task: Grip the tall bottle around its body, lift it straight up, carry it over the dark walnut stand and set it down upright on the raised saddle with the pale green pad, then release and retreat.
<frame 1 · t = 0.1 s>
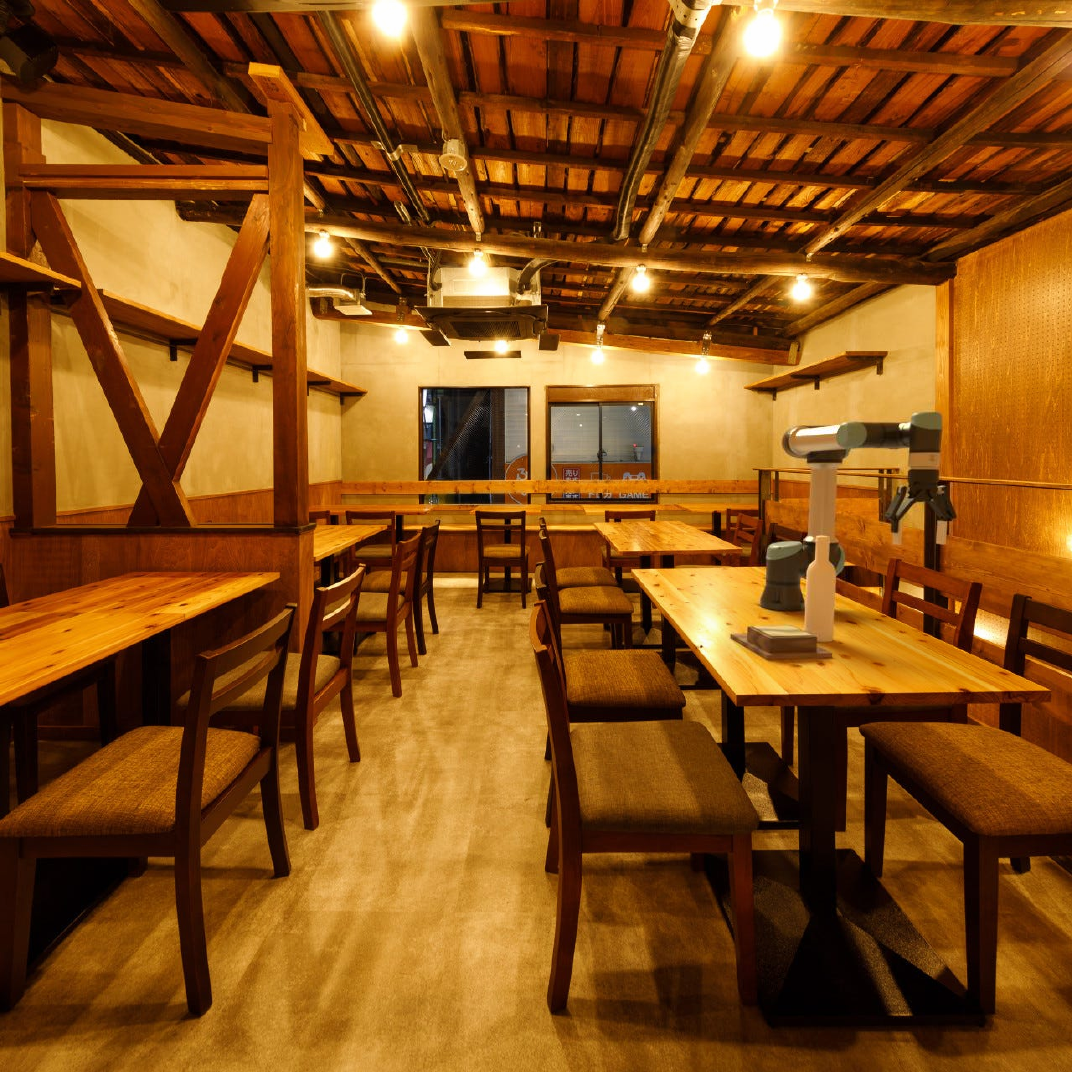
hand: (918, 544, 178), 28 cm above the table, fingers open, 13 cm apart
stand: (778, 647, 175), on the table
bottle: (818, 639, 183), on the table
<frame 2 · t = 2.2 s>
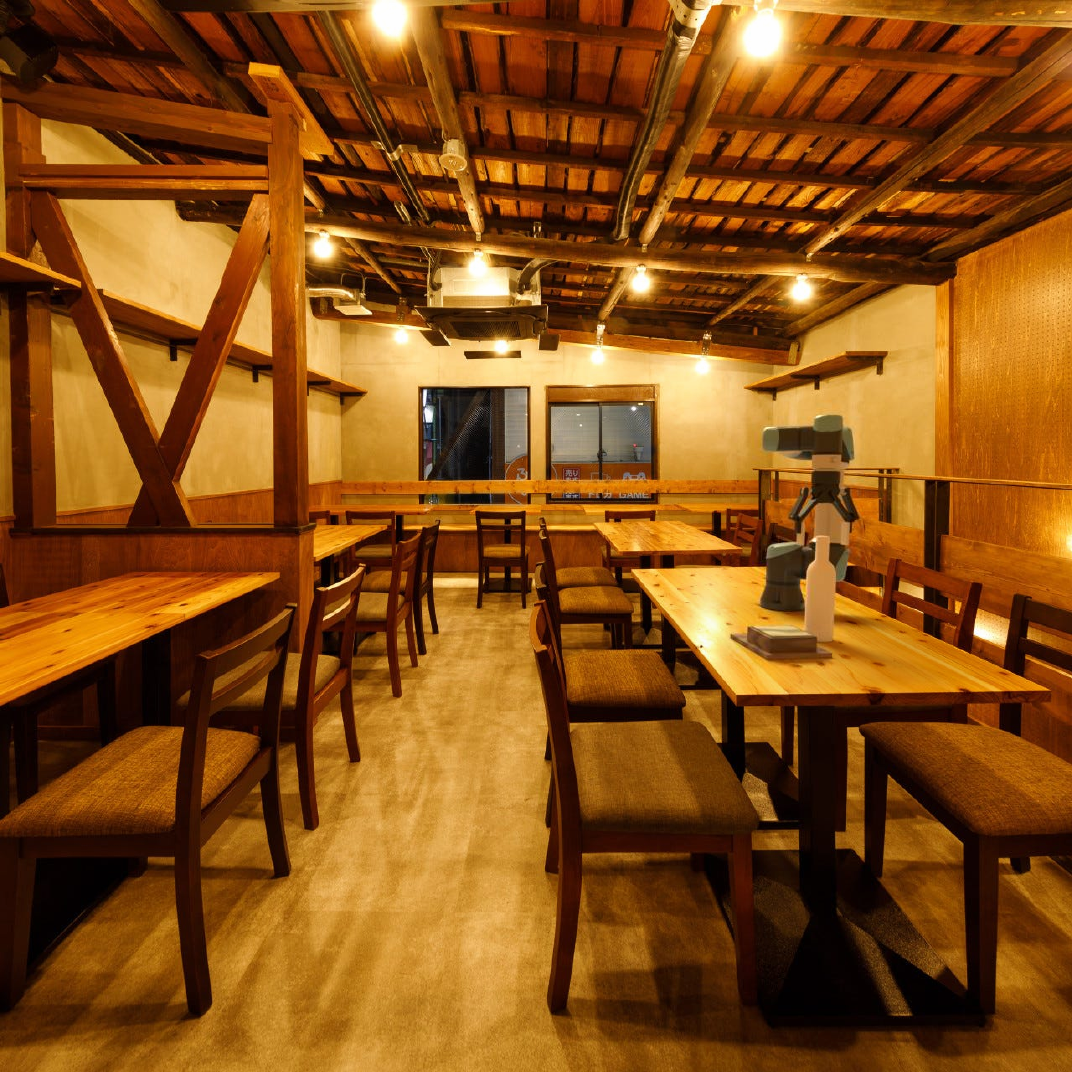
hand: (822, 545, 180), 27 cm above the table, fingers open, 13 cm apart
nothing on the table moved.
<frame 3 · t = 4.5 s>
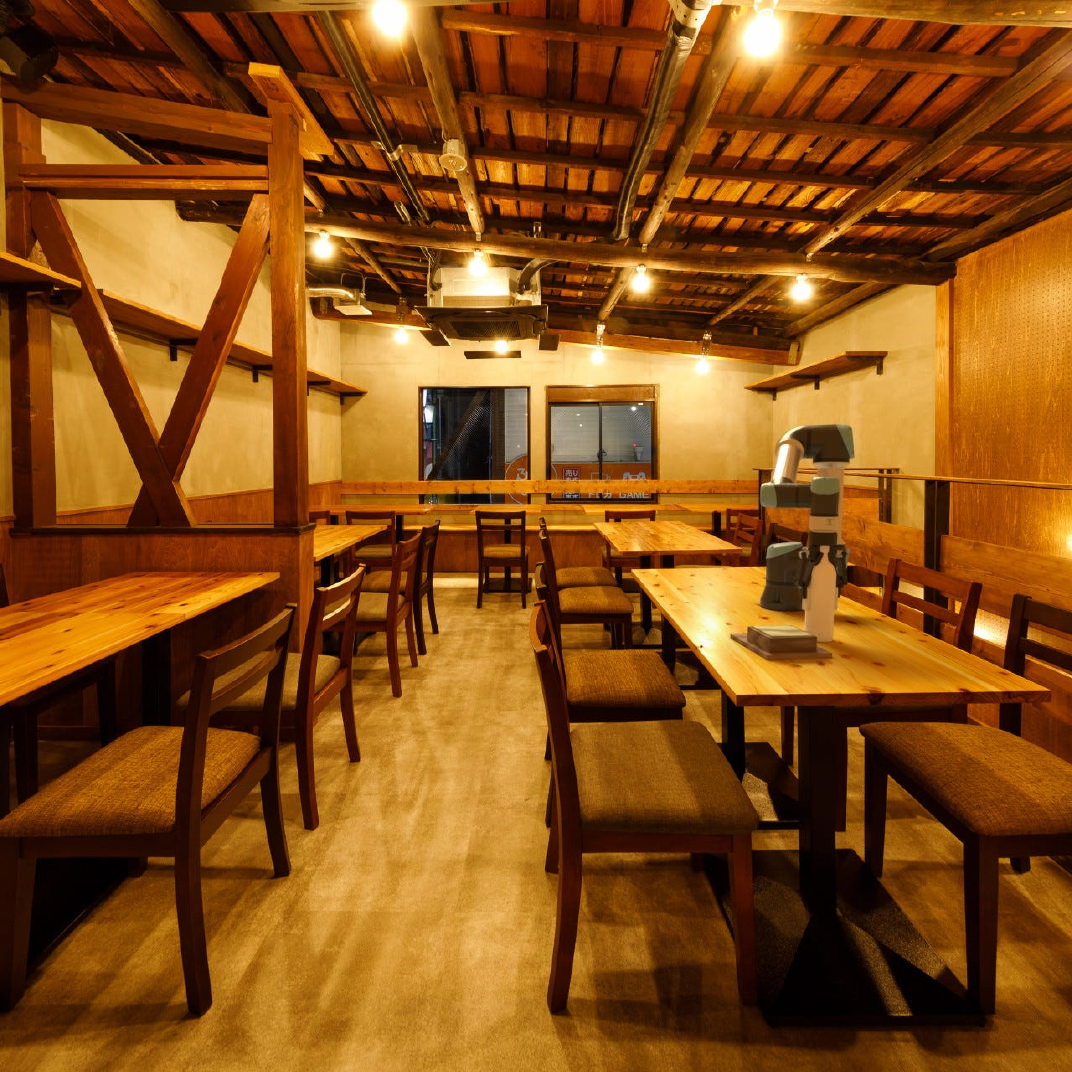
hand: (819, 609, 183), 9 cm above the table, fingers closed on bottle, 8 cm apart
bottle: (818, 639, 183), on the table, touching gripper
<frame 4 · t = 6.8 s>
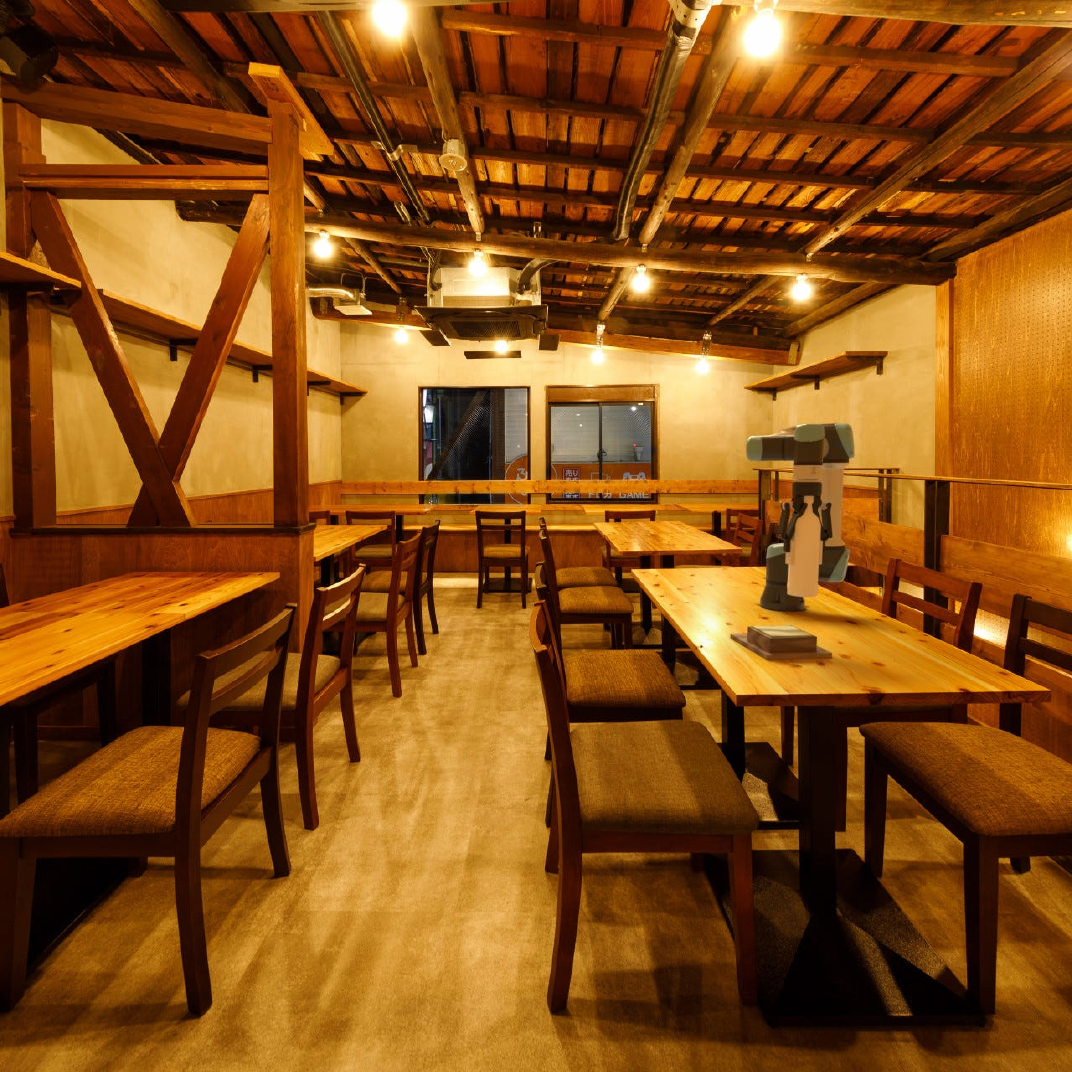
hand: (803, 563, 175), 23 cm above the table, fingers closed on bottle, 8 cm apart
bottle: (802, 595, 175), point 14 cm above the table, touching gripper
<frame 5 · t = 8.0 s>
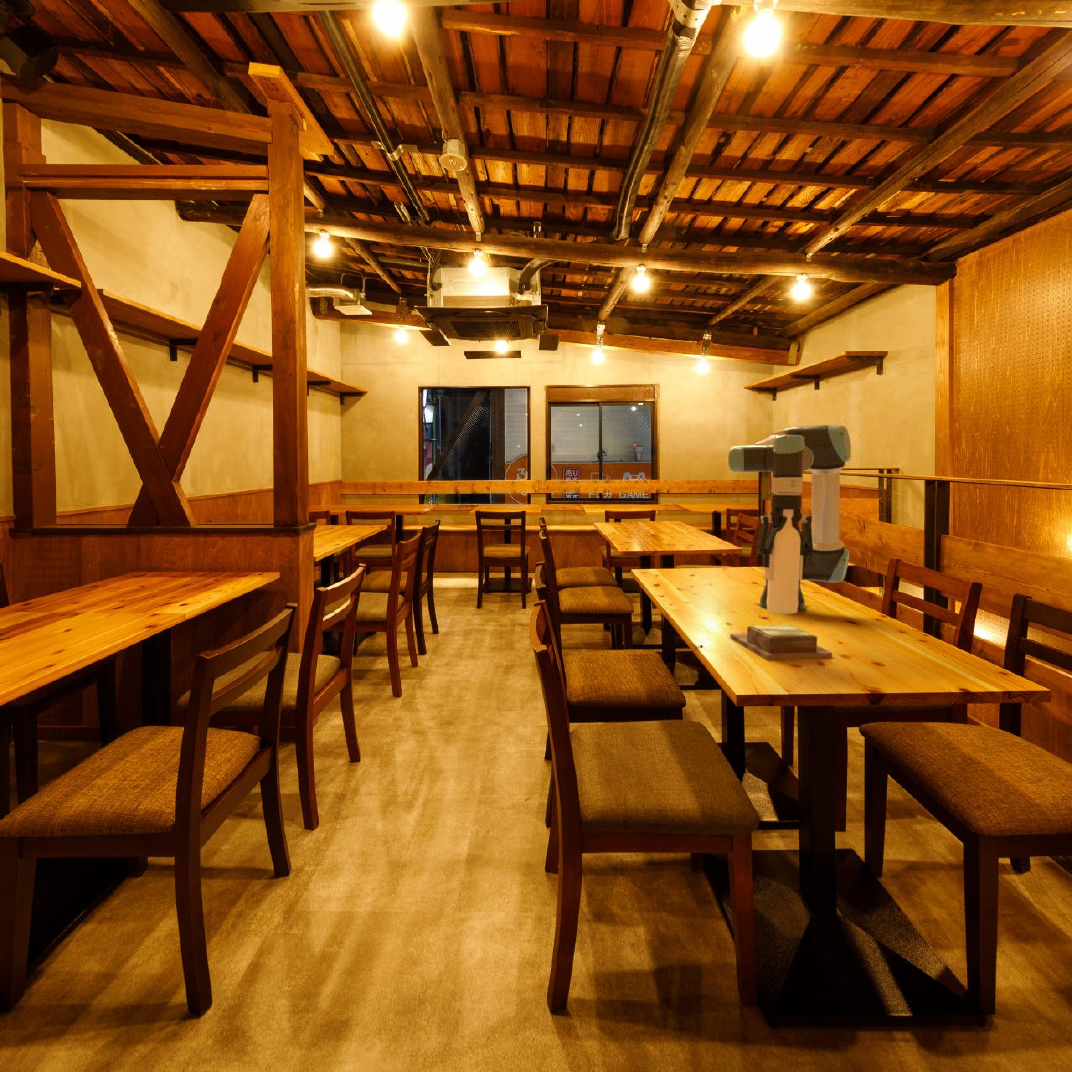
hand: (783, 579, 169), 20 cm above the table, fingers closed on bottle, 8 cm apart
bottle: (781, 611, 170), point 11 cm above the table, touching gripper
when the fingers open (15 cm above the table, at t = 9.1 s): bottle stays where it is, resting on stand.
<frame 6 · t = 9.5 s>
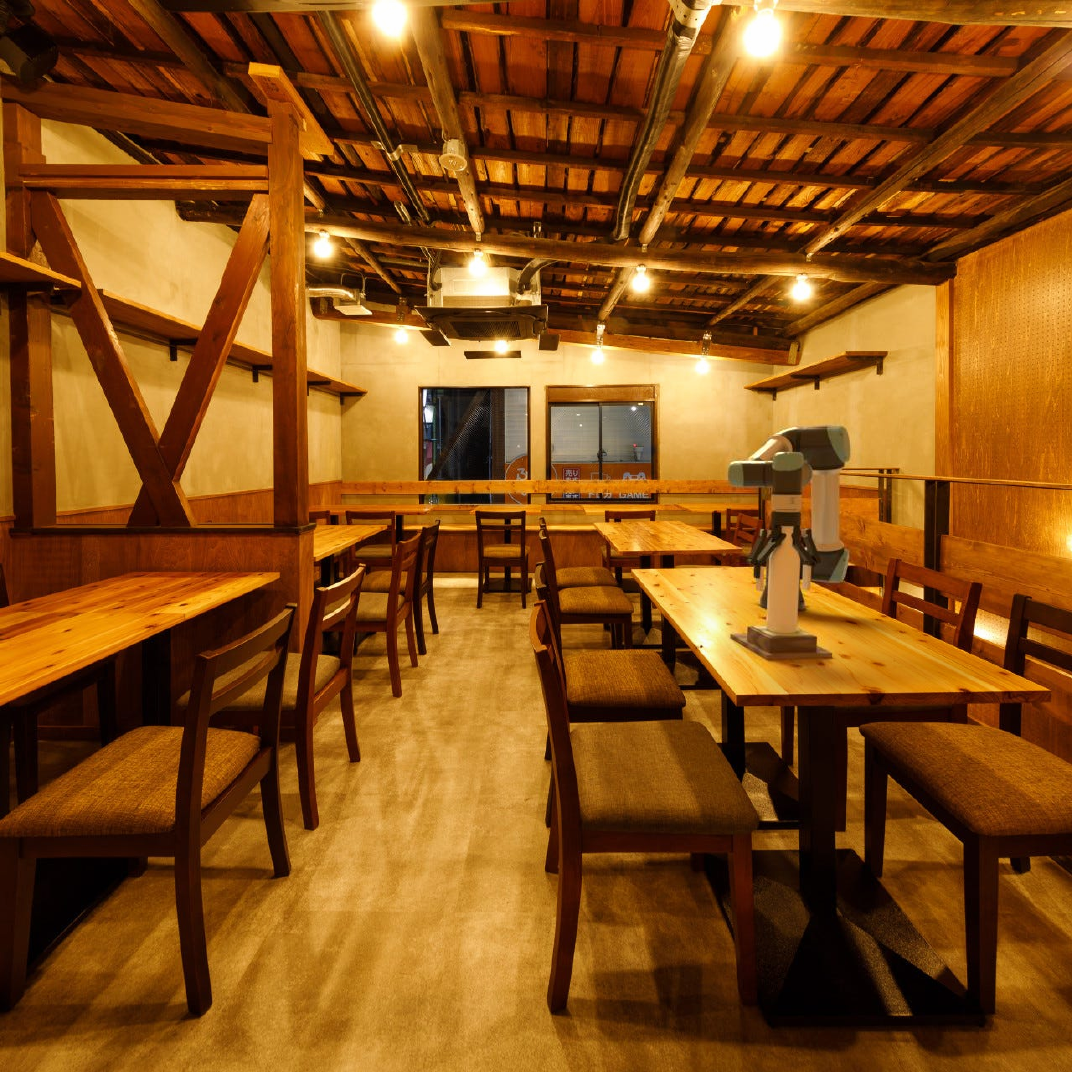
hand: (782, 590, 170), 17 cm above the table, fingers open, 13 cm apart
bottle: (781, 630, 171), point 5 cm above the table, touching stand
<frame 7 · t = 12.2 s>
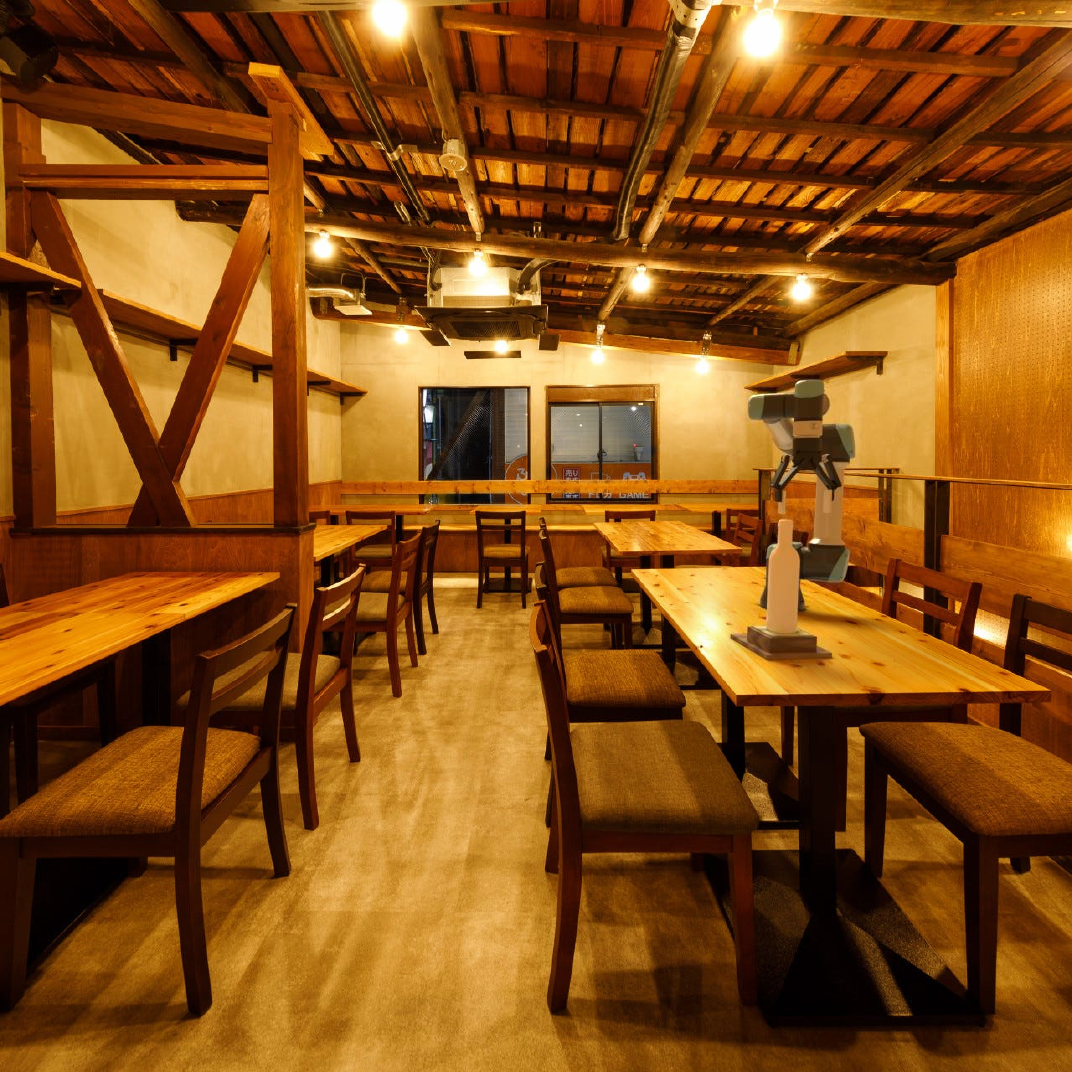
hand: (804, 513, 178), 37 cm above the table, fingers open, 13 cm apart
nothing on the table moved.
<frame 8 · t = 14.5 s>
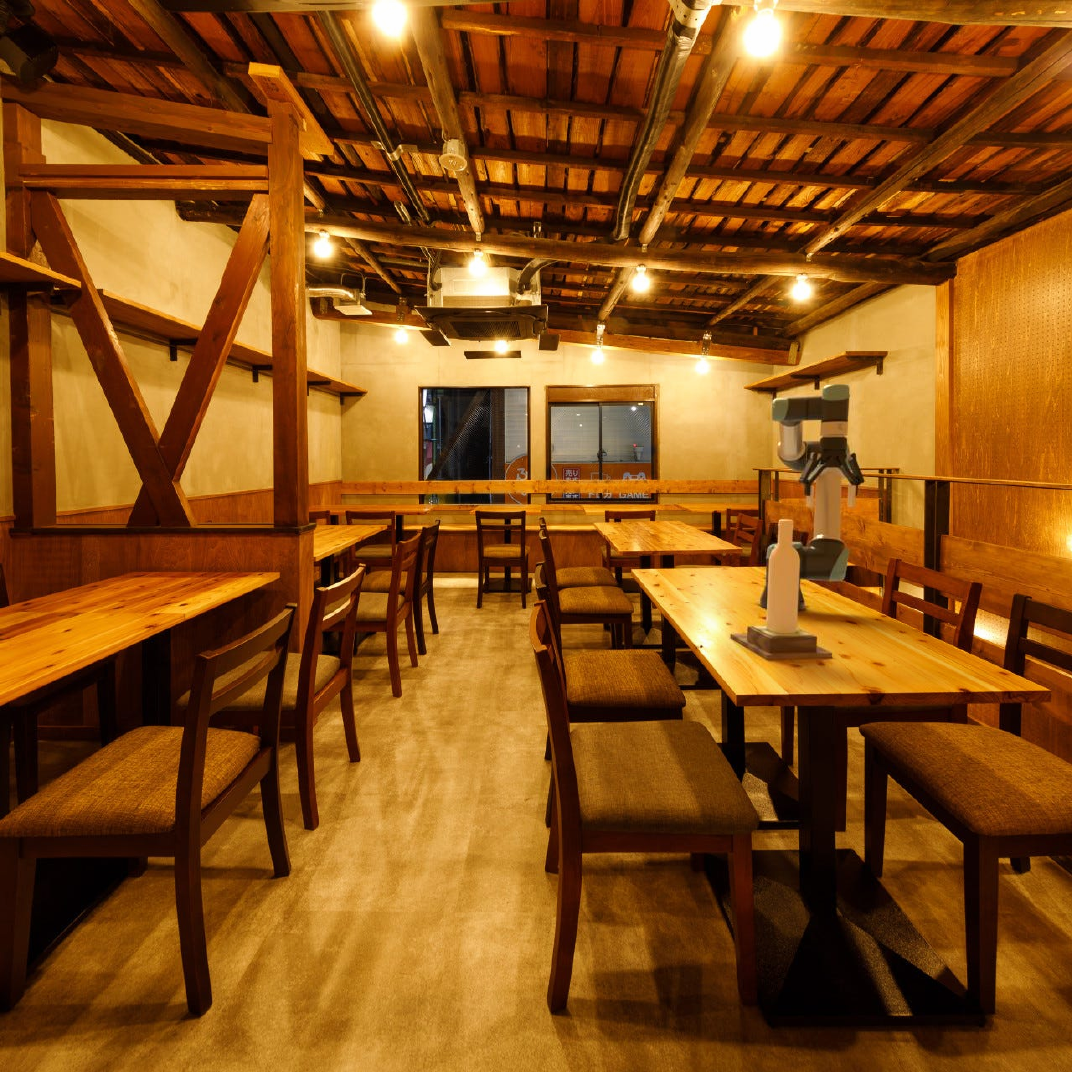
hand: (830, 506, 194), 38 cm above the table, fingers open, 13 cm apart
nothing on the table moved.
at the end: bottle inside the target area on the stand (0.1 cm from its centre), point 5.3 cm above the stand's base; bottle tilted 0°; the gripper is holding nothing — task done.
